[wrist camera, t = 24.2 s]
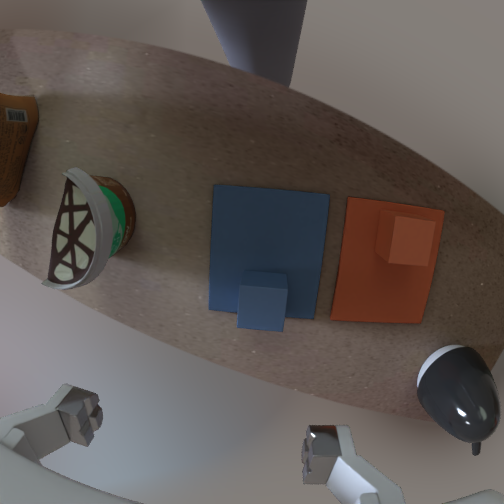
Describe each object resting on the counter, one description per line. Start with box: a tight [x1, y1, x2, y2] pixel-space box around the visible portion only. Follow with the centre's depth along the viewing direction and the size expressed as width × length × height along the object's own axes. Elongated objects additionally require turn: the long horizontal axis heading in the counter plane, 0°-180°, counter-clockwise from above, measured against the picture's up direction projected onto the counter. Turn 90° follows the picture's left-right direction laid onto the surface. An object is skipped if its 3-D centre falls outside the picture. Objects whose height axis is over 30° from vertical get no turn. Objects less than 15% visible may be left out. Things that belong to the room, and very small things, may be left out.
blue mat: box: [209, 185, 330, 319], centre depth 34 cm, size 14×12×1 cm
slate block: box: [237, 270, 288, 332], centre depth 33 cm, size 5×5×5 cm
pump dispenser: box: [417, 345, 501, 456], centre depth 30 cm, size 10×10×15 cm
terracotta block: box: [375, 210, 436, 266], centre depth 30 cm, size 5×5×5 cm
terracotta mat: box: [330, 197, 445, 323], centre depth 34 cm, size 14×12×1 cm
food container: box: [42, 167, 136, 290], centre depth 30 cm, size 12×6×10 cm, turn 157°
